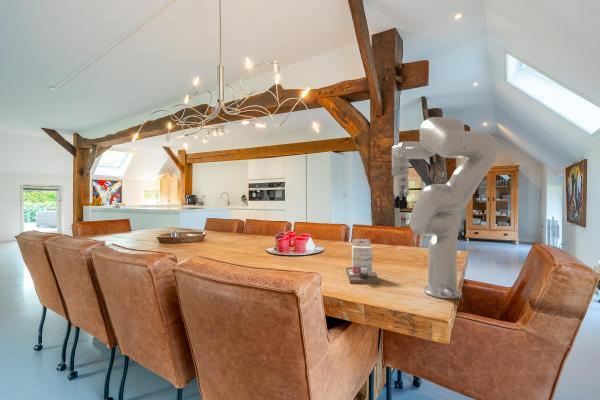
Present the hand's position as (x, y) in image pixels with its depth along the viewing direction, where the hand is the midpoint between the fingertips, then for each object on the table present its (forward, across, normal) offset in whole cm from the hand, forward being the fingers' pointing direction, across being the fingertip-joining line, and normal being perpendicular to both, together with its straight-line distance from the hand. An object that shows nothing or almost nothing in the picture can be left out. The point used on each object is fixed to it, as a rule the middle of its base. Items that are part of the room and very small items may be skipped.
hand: (400, 208), depth 136 cm
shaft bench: (+30, -7, +19) cm, 36 cm away
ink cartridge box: (+28, -7, +19) cm, 35 cm away
